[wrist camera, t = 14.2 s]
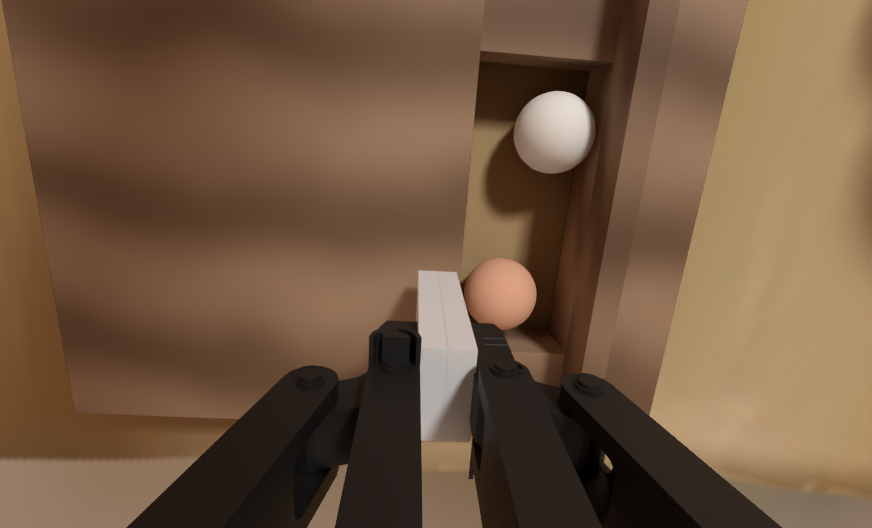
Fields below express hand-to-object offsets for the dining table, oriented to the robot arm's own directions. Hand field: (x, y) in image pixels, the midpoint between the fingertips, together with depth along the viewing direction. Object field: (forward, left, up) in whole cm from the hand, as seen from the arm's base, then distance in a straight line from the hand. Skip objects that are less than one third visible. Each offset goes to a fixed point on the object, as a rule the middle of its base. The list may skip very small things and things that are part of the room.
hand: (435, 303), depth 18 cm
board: (-3, -3, -4) cm, 6 cm away
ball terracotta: (0, +3, -2) cm, 4 cm away
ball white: (-7, +4, -2) cm, 8 cm away
